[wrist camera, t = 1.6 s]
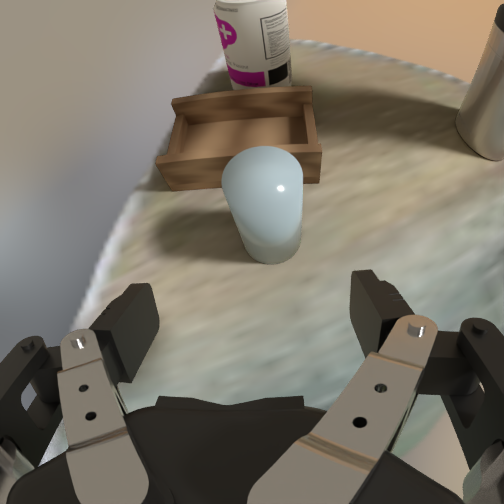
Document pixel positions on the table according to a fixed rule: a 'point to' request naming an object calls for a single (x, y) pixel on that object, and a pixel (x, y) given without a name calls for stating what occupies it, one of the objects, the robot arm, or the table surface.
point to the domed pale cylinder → (266, 201)
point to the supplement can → (255, 42)
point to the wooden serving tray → (238, 133)
